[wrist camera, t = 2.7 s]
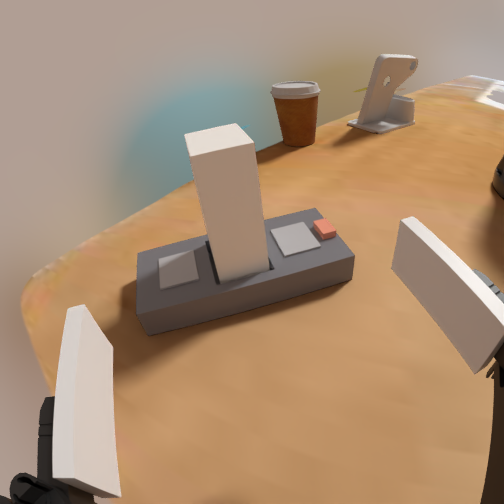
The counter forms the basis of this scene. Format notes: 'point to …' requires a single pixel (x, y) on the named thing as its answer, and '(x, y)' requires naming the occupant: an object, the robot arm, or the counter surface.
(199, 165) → the block
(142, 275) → the power strip
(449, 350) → the counter surface
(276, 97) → the disposable coffee cup
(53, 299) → the counter surface
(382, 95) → the phone holder
